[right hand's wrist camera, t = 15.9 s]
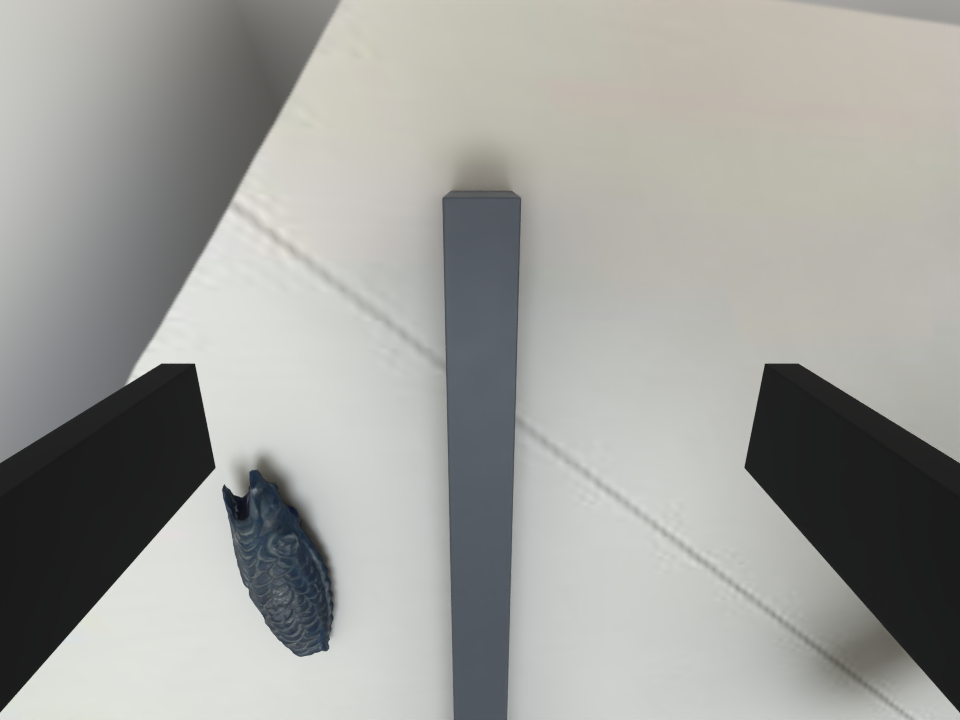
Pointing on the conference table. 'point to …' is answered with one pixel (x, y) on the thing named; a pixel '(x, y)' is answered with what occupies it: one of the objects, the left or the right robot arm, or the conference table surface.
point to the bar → (481, 438)
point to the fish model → (280, 567)
